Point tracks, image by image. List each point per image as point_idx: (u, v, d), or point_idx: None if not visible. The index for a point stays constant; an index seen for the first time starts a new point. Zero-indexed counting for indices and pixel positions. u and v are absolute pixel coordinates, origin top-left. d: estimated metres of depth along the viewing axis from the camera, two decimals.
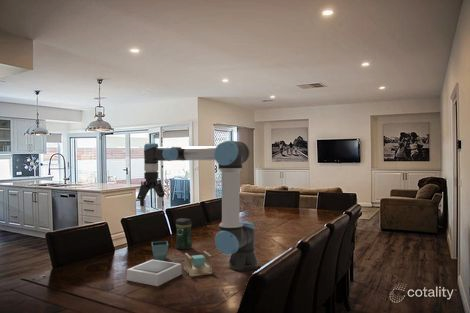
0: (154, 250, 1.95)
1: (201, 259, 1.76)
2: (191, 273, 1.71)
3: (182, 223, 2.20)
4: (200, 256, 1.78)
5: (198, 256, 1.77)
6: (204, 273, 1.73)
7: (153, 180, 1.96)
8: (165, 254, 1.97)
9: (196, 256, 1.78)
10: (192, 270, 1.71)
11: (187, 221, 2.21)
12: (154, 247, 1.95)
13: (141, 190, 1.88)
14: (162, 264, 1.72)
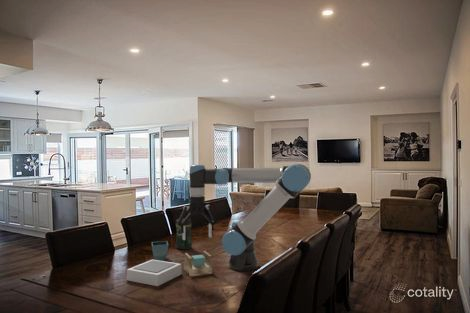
0: (154, 250, 1.95)
1: (201, 259, 1.76)
2: (191, 273, 1.71)
3: None
4: (200, 256, 1.78)
5: (198, 256, 1.77)
6: (204, 273, 1.73)
7: (198, 205, 1.77)
8: (165, 254, 1.97)
9: (196, 256, 1.78)
10: (192, 270, 1.71)
11: (187, 221, 2.21)
12: (154, 247, 1.95)
13: (181, 216, 1.74)
14: (162, 264, 1.72)
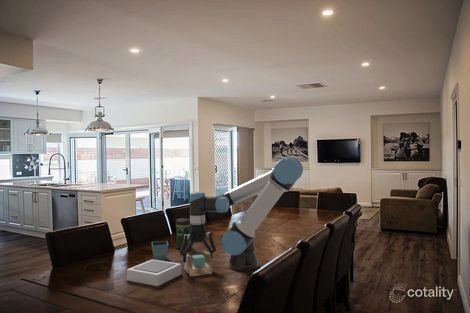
0: (154, 250, 1.95)
1: (201, 259, 1.76)
2: (191, 273, 1.71)
3: (182, 223, 2.20)
4: (200, 256, 1.78)
5: (198, 256, 1.77)
6: (204, 273, 1.73)
7: (199, 233, 1.77)
8: (165, 254, 1.97)
9: (196, 256, 1.78)
10: (192, 270, 1.71)
11: (187, 221, 2.21)
12: (154, 247, 1.95)
13: (182, 245, 1.75)
14: (162, 264, 1.72)
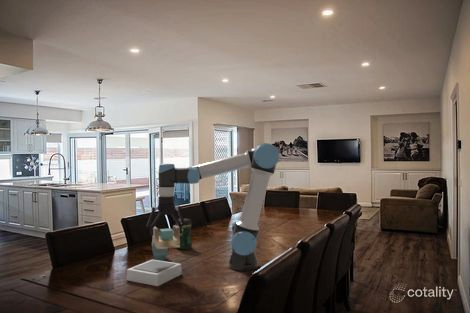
0: (154, 250, 1.95)
1: (169, 232, 1.70)
2: (157, 245, 1.65)
3: None
4: (168, 229, 1.72)
5: (166, 230, 1.72)
6: (171, 246, 1.67)
7: (167, 206, 1.71)
8: (165, 254, 1.97)
9: (164, 229, 1.72)
10: (158, 242, 1.65)
11: (187, 221, 2.21)
12: (154, 247, 1.95)
13: (149, 217, 1.69)
14: (162, 264, 1.72)
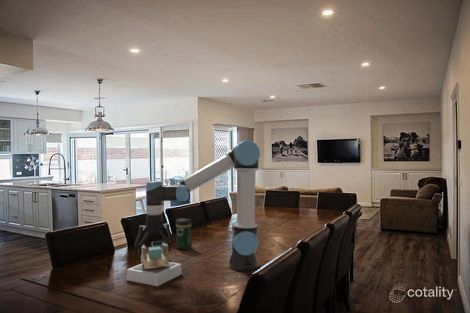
0: None
1: (158, 251, 1.68)
2: (146, 265, 1.63)
3: (182, 223, 2.20)
4: (157, 248, 1.70)
5: (155, 248, 1.69)
6: (160, 265, 1.65)
7: (155, 224, 1.69)
8: None
9: (153, 248, 1.70)
10: (147, 262, 1.63)
11: (187, 221, 2.21)
12: None
13: (137, 236, 1.67)
14: None
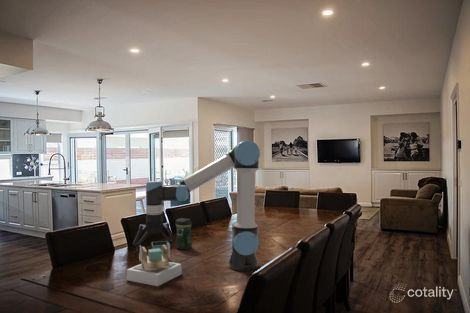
0: None
1: (158, 253, 1.68)
2: (146, 267, 1.63)
3: (182, 223, 2.20)
4: (157, 250, 1.70)
5: (155, 250, 1.69)
6: (160, 267, 1.65)
7: (155, 224, 1.69)
8: None
9: (153, 250, 1.70)
10: (147, 264, 1.63)
11: (187, 221, 2.21)
12: (154, 247, 1.95)
13: (136, 235, 1.67)
14: None
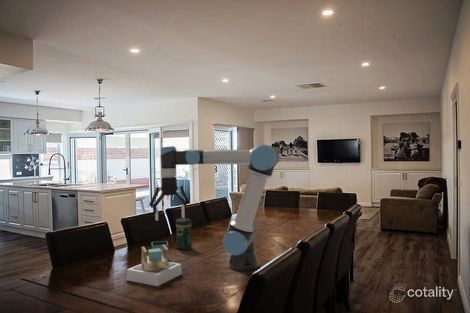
0: None
1: (158, 253, 1.68)
2: (146, 267, 1.63)
3: (182, 223, 2.20)
4: (157, 250, 1.70)
5: (155, 250, 1.69)
6: (160, 267, 1.65)
7: (170, 186, 1.80)
8: None
9: (153, 250, 1.70)
10: (147, 264, 1.63)
11: (187, 221, 2.21)
12: (154, 247, 1.95)
13: (153, 197, 1.77)
14: None
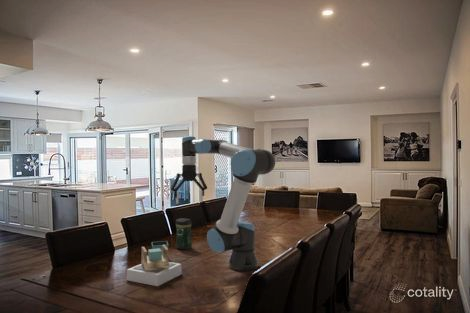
0: None
1: (158, 253, 1.68)
2: (146, 267, 1.63)
3: (182, 223, 2.20)
4: (157, 250, 1.70)
5: (155, 250, 1.69)
6: (160, 267, 1.65)
7: (190, 173, 1.97)
8: None
9: (153, 250, 1.70)
10: (147, 264, 1.63)
11: (187, 221, 2.21)
12: (154, 247, 1.95)
13: (174, 182, 1.95)
14: None
